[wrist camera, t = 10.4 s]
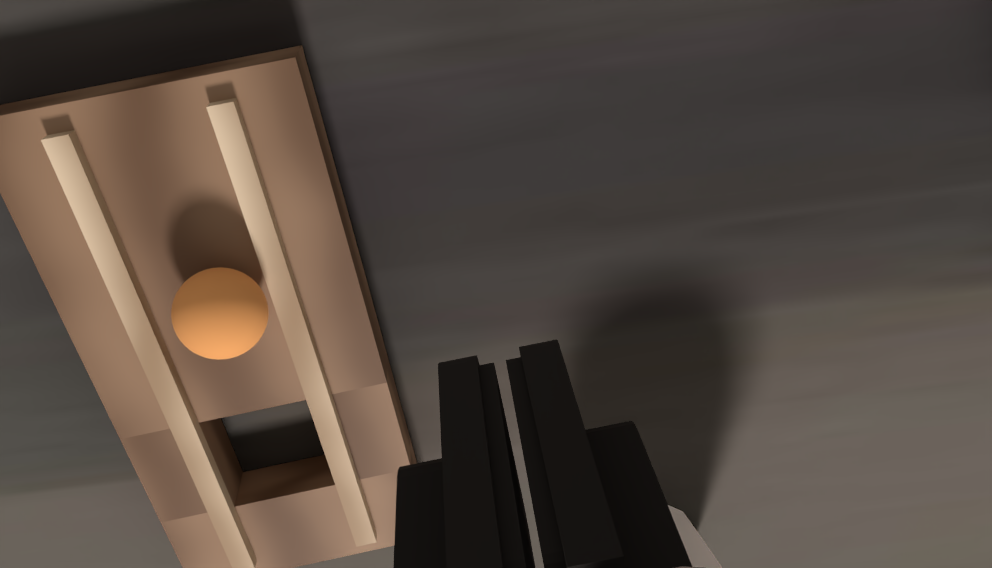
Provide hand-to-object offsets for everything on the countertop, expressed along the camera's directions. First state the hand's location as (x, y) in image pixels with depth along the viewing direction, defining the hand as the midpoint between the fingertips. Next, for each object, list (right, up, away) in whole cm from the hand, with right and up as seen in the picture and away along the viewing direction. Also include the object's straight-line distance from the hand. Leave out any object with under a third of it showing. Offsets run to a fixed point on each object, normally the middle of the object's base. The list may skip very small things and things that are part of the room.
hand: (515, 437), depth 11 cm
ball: (-11, +1, +20) cm, 23 cm away
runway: (-12, 0, +25) cm, 28 cm away
